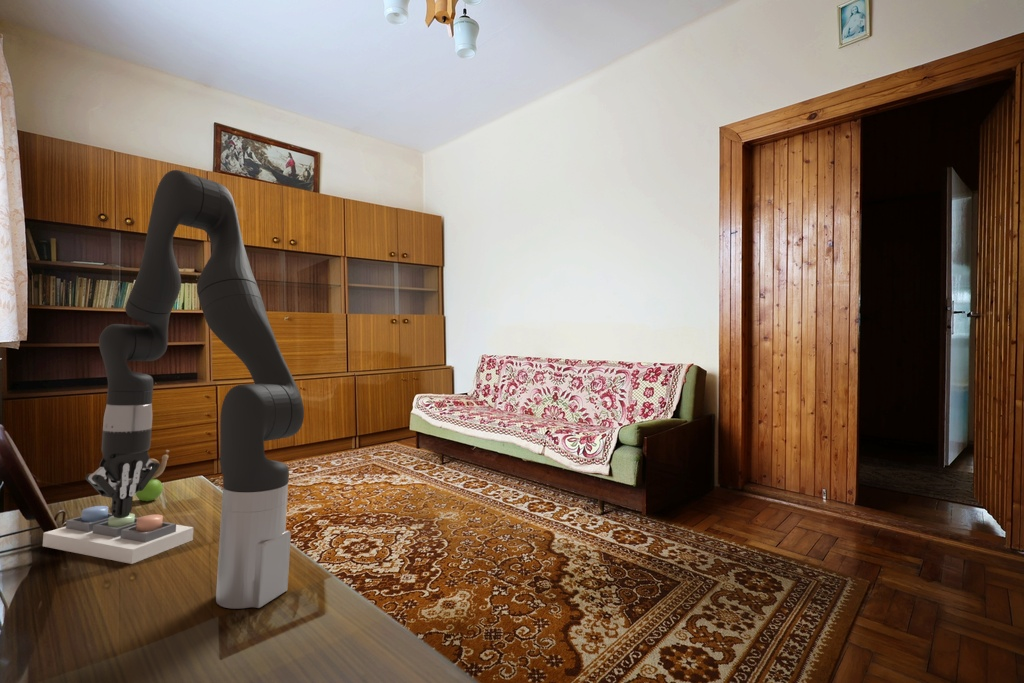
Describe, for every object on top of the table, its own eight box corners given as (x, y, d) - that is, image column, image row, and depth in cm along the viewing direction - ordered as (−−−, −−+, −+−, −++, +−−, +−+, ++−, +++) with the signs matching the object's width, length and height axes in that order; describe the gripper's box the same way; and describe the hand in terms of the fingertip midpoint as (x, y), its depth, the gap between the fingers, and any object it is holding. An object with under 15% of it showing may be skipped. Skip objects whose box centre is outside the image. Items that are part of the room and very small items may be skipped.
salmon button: (167, 526, 94) (168, 516, 94) (146, 533, 90) (147, 522, 90) (151, 523, 95) (152, 513, 95) (130, 530, 91) (131, 519, 91)
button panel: (192, 540, 97) (194, 519, 97) (131, 563, 85) (133, 540, 86) (110, 525, 103) (111, 506, 103) (42, 546, 91) (44, 524, 91)
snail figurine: (170, 499, 122) (173, 451, 122) (140, 505, 116) (143, 455, 117) (160, 495, 125) (163, 448, 125) (130, 501, 119) (134, 451, 120)
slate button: (112, 517, 97) (113, 507, 97) (91, 523, 94) (91, 513, 94) (97, 514, 98) (98, 504, 99) (75, 521, 95) (76, 510, 95)
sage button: (139, 525, 96) (140, 514, 96) (118, 531, 92) (119, 521, 92) (123, 522, 97) (124, 512, 97) (102, 529, 93) (103, 518, 93)
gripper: (106, 433, 87) (99, 530, 87) (174, 424, 100) (168, 509, 100) (75, 429, 89) (68, 524, 89) (146, 421, 102) (140, 504, 102)
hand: (121, 516), depth 94 cm, fingers closed
